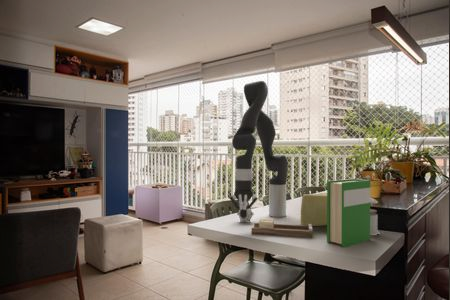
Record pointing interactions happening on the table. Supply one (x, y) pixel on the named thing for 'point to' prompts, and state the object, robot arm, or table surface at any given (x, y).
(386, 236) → the table surface
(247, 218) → the grey bumpy ball
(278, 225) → the chute
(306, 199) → the cheese
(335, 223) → the hardback book
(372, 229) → the french press
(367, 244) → the table surface
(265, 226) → the maple block
